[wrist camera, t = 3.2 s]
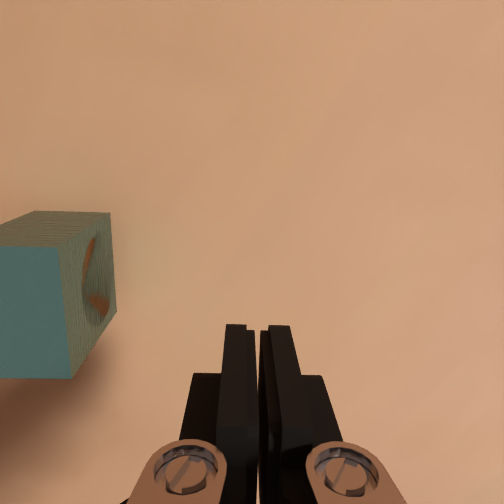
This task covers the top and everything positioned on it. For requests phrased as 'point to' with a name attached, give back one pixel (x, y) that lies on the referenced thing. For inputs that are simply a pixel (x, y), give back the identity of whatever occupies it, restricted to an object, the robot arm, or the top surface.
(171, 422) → the top surface
